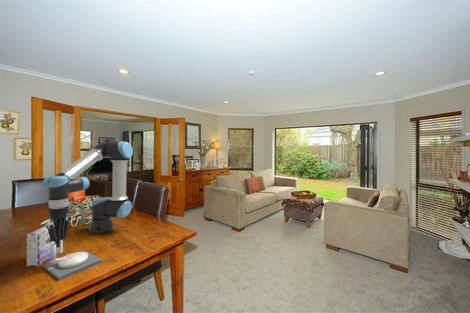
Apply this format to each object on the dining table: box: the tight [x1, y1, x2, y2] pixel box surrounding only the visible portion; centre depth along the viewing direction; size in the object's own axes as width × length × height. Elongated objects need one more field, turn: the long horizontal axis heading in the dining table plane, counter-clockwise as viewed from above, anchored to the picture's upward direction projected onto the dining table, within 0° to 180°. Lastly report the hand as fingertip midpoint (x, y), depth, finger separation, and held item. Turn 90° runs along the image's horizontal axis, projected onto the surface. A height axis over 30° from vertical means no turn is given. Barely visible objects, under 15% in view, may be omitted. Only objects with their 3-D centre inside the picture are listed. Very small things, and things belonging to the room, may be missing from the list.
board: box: [43, 249, 103, 281], centre depth 104 cm, size 19×18×2 cm
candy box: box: [25, 225, 58, 267], centre depth 108 cm, size 14×6×16 cm, turn 5°
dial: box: [49, 244, 88, 268], centre depth 103 cm, size 15×12×10 cm
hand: (59, 252), depth 104 cm, fingers closed
